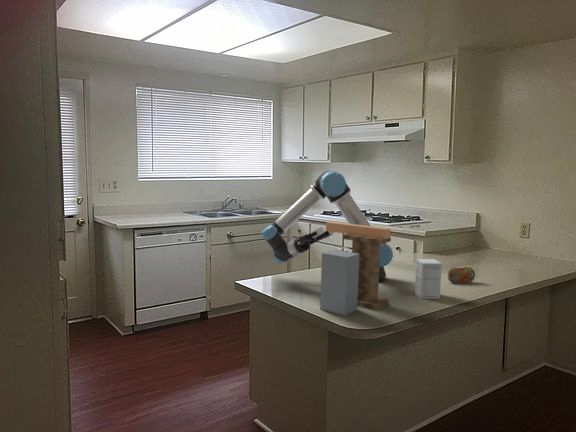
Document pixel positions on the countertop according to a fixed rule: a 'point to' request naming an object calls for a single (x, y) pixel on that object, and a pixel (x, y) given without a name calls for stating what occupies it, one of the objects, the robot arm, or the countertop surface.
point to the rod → (358, 230)
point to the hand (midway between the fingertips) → (331, 228)
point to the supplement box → (428, 278)
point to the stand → (368, 269)
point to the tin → (461, 275)
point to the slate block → (339, 282)
